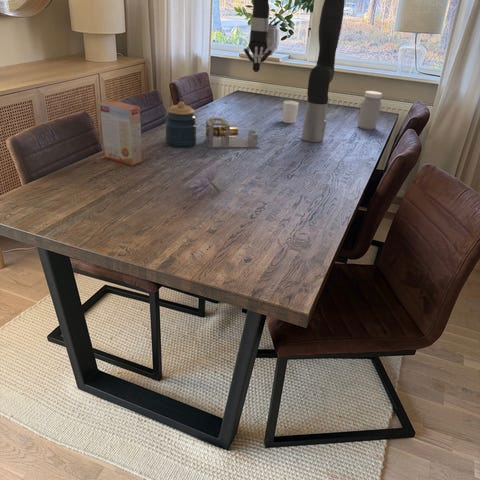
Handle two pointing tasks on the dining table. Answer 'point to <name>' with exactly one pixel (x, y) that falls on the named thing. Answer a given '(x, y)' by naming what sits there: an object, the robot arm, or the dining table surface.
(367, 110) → the jar
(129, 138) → the cracker box
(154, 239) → the dining table surface
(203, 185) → the water lily
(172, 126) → the canister
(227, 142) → the collar stand
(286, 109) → the white cup
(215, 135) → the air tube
